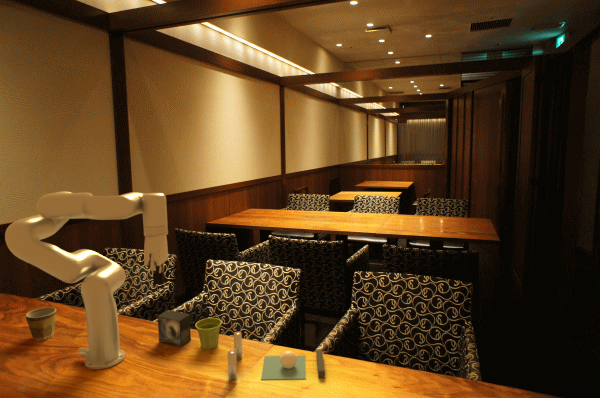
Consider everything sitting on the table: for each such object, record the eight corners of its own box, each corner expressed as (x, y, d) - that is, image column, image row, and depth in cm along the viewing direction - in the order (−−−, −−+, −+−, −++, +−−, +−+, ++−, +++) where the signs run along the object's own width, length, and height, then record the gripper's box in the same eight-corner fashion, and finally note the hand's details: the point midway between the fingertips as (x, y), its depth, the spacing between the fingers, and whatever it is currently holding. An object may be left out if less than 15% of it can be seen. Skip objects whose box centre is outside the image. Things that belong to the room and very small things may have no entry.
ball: (280, 373, 128) (278, 357, 128) (281, 363, 134) (279, 348, 133) (297, 371, 128) (295, 355, 128) (297, 361, 134) (295, 346, 133)
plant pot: (216, 353, 141) (215, 330, 140) (191, 350, 143) (190, 327, 142) (226, 340, 150) (225, 318, 149) (203, 338, 152) (202, 317, 151)
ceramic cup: (63, 334, 157) (61, 310, 155) (35, 345, 148) (33, 319, 147) (47, 327, 164) (44, 303, 162) (19, 336, 155) (17, 312, 154)
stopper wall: (318, 378, 125) (318, 370, 125) (316, 356, 138) (316, 349, 138) (324, 378, 125) (324, 370, 125) (322, 356, 138) (322, 349, 138)
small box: (157, 342, 149) (156, 316, 148) (169, 335, 155) (168, 309, 154) (180, 347, 145) (179, 320, 144) (191, 339, 151) (190, 313, 150)
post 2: (234, 360, 136) (233, 335, 135) (235, 356, 139) (234, 331, 138) (241, 359, 136) (240, 335, 135) (242, 356, 139) (242, 331, 138)
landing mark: (261, 379, 124) (261, 379, 124) (264, 356, 138) (264, 356, 138) (305, 379, 124) (305, 378, 124) (304, 356, 138) (304, 355, 138)
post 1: (227, 381, 124) (226, 354, 123) (229, 376, 126) (228, 350, 125) (236, 381, 124) (235, 354, 123) (237, 376, 126) (236, 350, 125)
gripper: (152, 226, 139) (155, 276, 141) (135, 235, 124) (139, 291, 127) (174, 225, 139) (176, 276, 142) (159, 235, 124) (162, 291, 127)
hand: (159, 283), depth 134 cm, fingers closed
